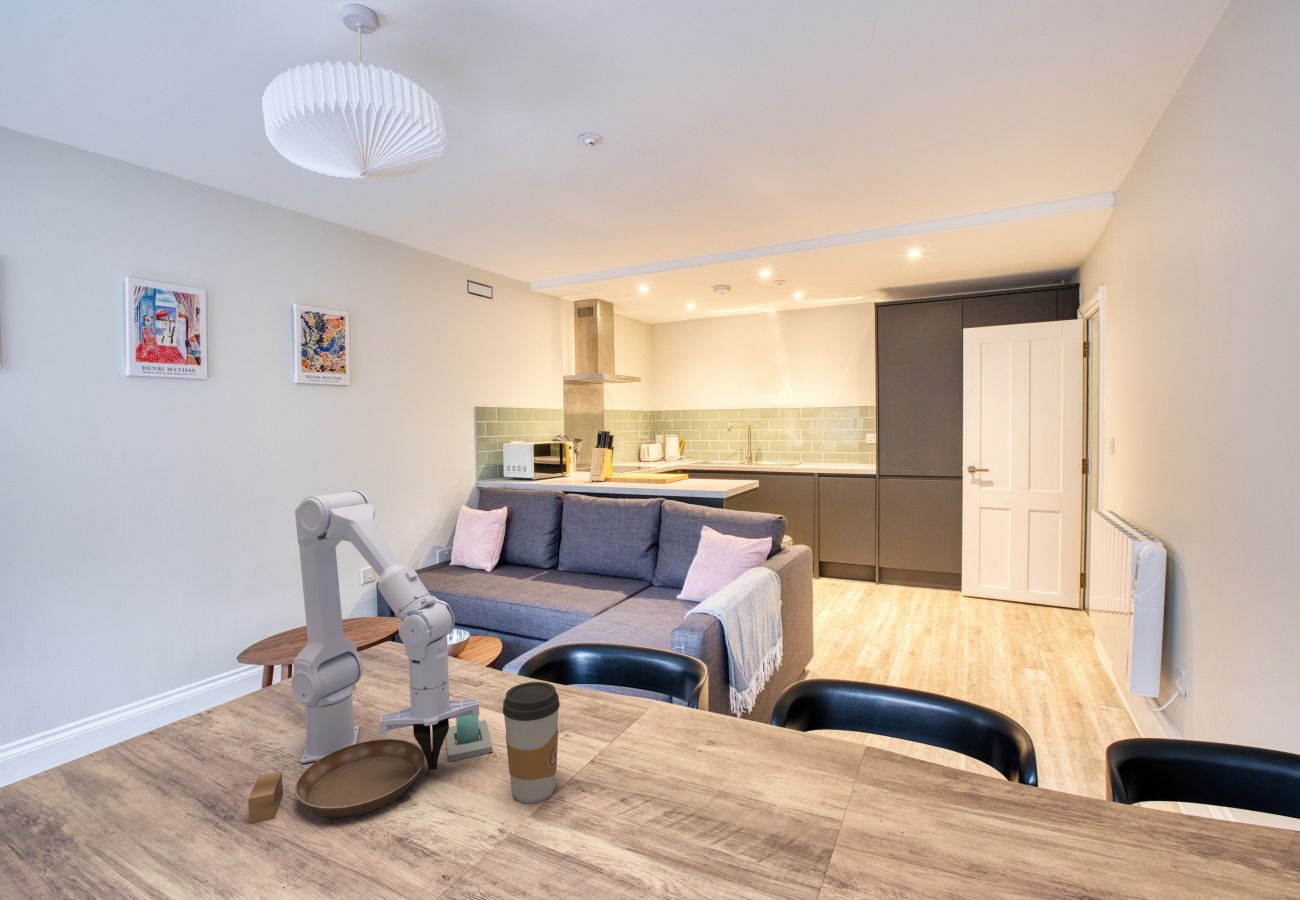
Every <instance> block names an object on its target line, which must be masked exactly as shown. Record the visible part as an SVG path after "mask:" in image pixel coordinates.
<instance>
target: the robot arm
mask: <svg viewBox="0 0 1300 900" xmlns="http://www.w3.org/2000/svg"><path fill="white" fill-rule="evenodd" d="M375 512H376V507H375V506H374V505H373V504H372V503H371V502H370V499H369V497H368V496H367V494H366V493H364V492H363V491H361V490H358V489H353V490H350V491H345V492H338V493H337V492H336V493H330V494H321V495H309V496H306V497H305V498H304V499H302V501H301V502H300V504H298V506H297V507H296V508H295V509H294V515H295V523H296V524H295V525H296V535H297V544H298V549H299V557H300V558H299V559H300V571H301V581H302V591H303V603H304V614H305V623H306V635H307V644H306V645H305V646H304V647H303V648H302V650H301V651H299V653H298V654H297V655H296V657H295V658H294V660H293V673H292V677H291V682H290V687H291V692H292V695H293V696H294V698H295V699H296V700H297V701H298V702H299V703H300V705H304V715H305V717H304V719H305V721H304V723H305V738H306V739H305V741H306V744H305V747H304V749H303V750H304V751H303V752H302V754H301V755H302V756H301V759H300V764H306V763H311V762H316V761H318V760H319V759H321V758H323V757H324V756H326V755H328V754H330V753H332V752H334V751H337V750H339V749H342V748H344V747H347V746H350V745H354V744H358V738H359V732H360V726H359V725H354V724H355V723H354V703H353V699H354V698H353V692H354V691H356V690H357V685H356V684H357V683H358V682H359V681H360V680H361V678H362V675H363V663H362V660H361V658H360V656H359V654H358V649H357V648H358V647H357V643H355V642H354V641H353V640H350V639H349V638H347V637H344V636H345V635H344V626H343V617H342V616H343V614H342V606H341V605H342V604H341V592H340V582H339V572H338V571H339V570H338V569H339V568H338V561H337V558H338V557H337V549H336V547H337V546H338V545H339V543H341V542H342V541H343V542H350V543H351V544H352V545H353V547H355V548H356V550H357V551H358V552H359V554H360V556H362V558H364V559H365V561H366V562H367V563H368V565H370V567H371V568H372V569H373V570H374V572H375V573H376V574H377V575H378V577H379V579H378V580H379V581H378V585H377V589H378V591H379V592H380V594H381V595H382V597H383V599H385V601H386V603H387V604H388V606H389V607H390V609H392V611H393V613H394V615H396V618H398V620H399V621H400V623H401V624H400V627H398V634H399V638H400V640H401V641H402V643H403V645H404V648H405V655H406V658H407V659H408V664H409V665H408V668H409V669H408V670H409V695H410V697H409V698H410V707H408V708H404V709H401V710H398V711H395V712H391V713H388V714H384V715H383V714H382V715H380V716H379V733H380V734H386V733H388V732H389V731H390V730H391V731H392V730H397V729H402V728H408V727H413V730H412V731H413V737H414V739H415V740H416V742H417V743H418V744H419V745H418V746H419V747H420V748H421V749H422V751H423V753H424V756H425V760H426V764H427V769H428V771H429V772H430V771H435V770H438V762H439V758H440V757H439V756H440V753H441V750H442V747H443V743H444V741H445V739H446V735H447V733H448V730H449V727H450V722H449V720H450V719H456V718H457V717H462V716H468V715H472V716H478V717H479V716H480V704H479V699H478V698H474V699H473V698H472V699H459V700H458V699H457V700H455V699H454V700H450V683H449V681H450V680H449V655H448V654H449V651H448V635H450V634H451V633H452V631H454V627H455V621H456V620H455V619H456V618H455V614H454V612H453V610H452V609H451V606H450V604H448V603H447V602H445V601H444V600H440V599H438V598H437V596H434V595H431V593H430V591H429V590H428V589H427V587H426V586H425V584H423V582H422V580H421V579H420V578H419V575H418V573H417V572H416V570H415V569H413V567H411V566H409V565H404V564H400V563H399V560H398V559H397V557H396V556H395V554H394V553H393V551H392V549H391V547H390V545H389V543H388V542H387V540H386V539H385V537H384V535H383V533H382V532H381V530H380V528H379V527H378V525H377V523H376V521H375V520H374V519H375V515H376V513H375ZM431 739H432V740H431Z"/></svg>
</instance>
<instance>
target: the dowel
mask: <svg viewBox="0 0 1300 900" xmlns="http://www.w3.org/2000/svg"><path fill="white" fill-rule="evenodd" d="M455 719H456V721H455V722H456V726H457V739H456V743H457V744H456V745H461V744H466V743H471V742H476V741H480V734H479V726H478V721H479V715H478V716H472V715H468V716H462V717H457V718H455Z"/></svg>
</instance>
